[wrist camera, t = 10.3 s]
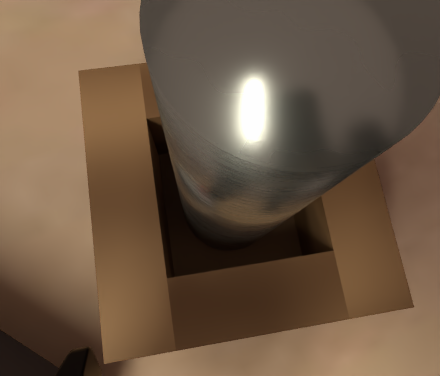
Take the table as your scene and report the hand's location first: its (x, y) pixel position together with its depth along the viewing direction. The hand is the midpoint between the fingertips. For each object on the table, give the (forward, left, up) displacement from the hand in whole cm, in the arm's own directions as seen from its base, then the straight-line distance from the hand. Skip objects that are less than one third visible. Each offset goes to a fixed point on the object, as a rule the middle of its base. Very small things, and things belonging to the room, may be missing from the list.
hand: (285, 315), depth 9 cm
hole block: (+4, 0, -8) cm, 9 cm away
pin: (+4, 0, -7) cm, 8 cm away
